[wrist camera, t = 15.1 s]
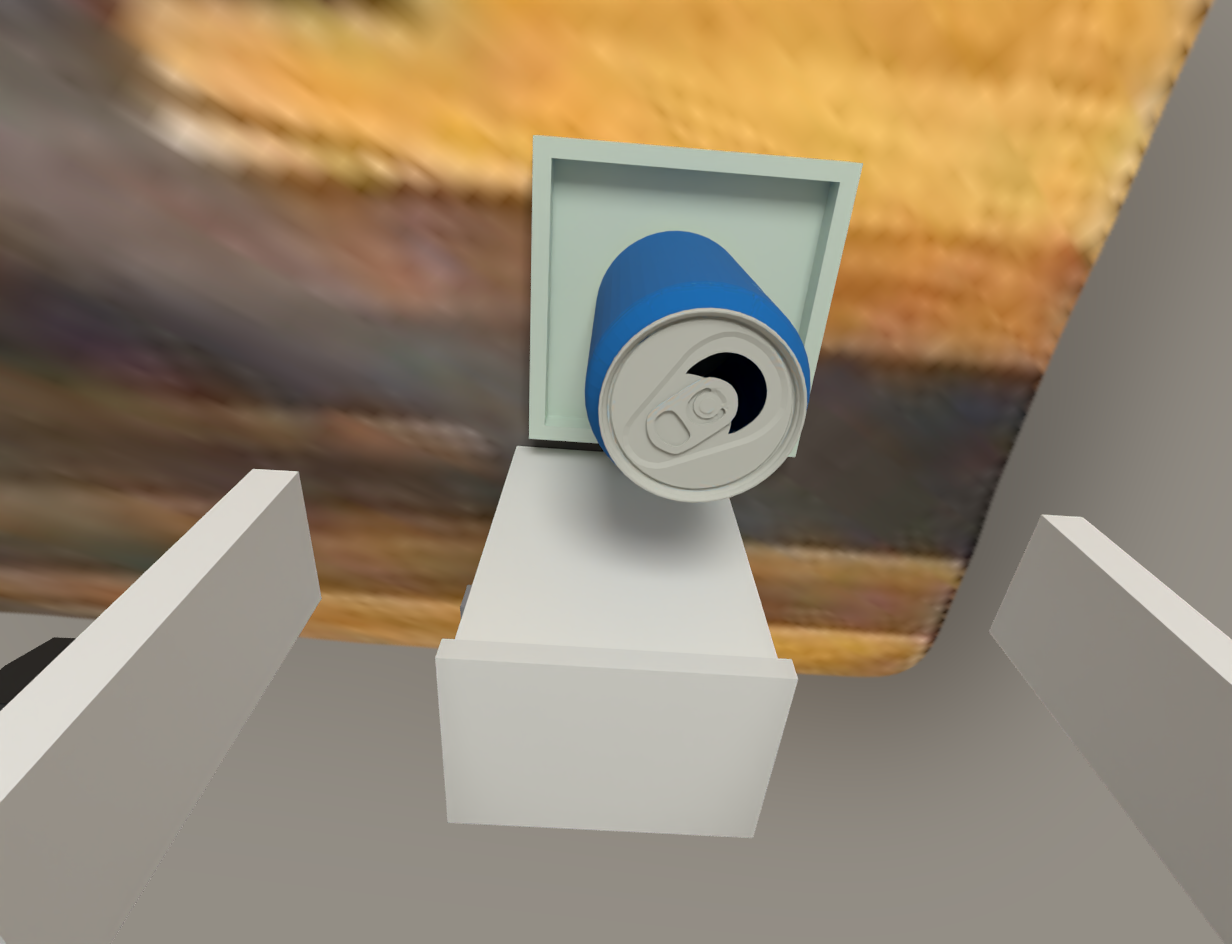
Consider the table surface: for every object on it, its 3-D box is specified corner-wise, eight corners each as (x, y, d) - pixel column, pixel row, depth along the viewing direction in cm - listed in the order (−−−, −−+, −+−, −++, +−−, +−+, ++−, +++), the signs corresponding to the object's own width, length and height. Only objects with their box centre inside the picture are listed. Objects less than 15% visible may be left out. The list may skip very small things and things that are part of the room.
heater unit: (507, 565, 35) (441, 822, 22) (506, 439, 32) (428, 657, 19) (706, 577, 36) (757, 838, 22) (727, 455, 32) (803, 679, 19)
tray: (533, 422, 31) (528, 438, 30) (538, 135, 25) (533, 135, 24) (786, 440, 32) (795, 457, 30) (847, 161, 26) (863, 163, 24)
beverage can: (773, 324, 28) (864, 438, 18) (651, 404, 30) (668, 552, 19) (693, 194, 26) (745, 236, 15) (566, 289, 28) (533, 386, 17)
